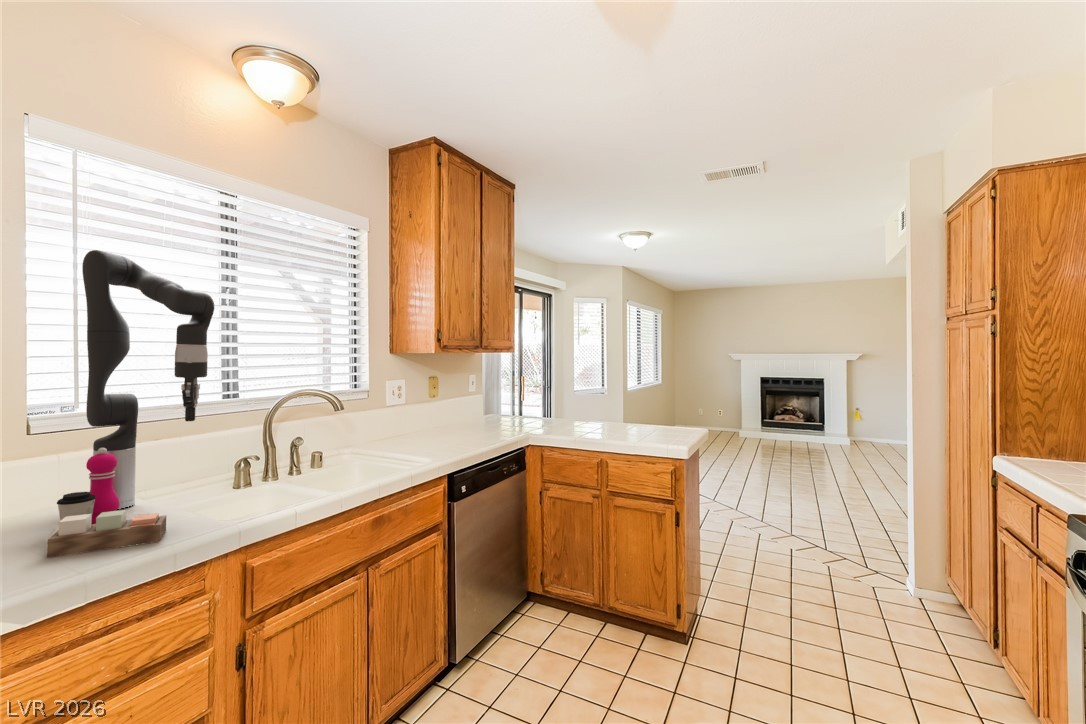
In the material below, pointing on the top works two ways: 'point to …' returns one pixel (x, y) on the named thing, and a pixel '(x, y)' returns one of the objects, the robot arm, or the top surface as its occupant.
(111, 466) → the pepper mill
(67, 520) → the ivory key
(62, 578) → the top surface
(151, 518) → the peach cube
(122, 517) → the sage key
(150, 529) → the wooden tray
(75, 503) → the coffee cup
